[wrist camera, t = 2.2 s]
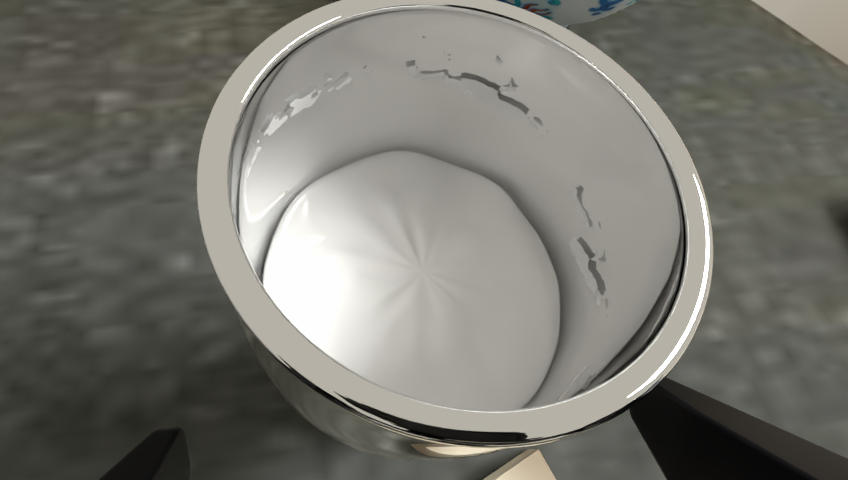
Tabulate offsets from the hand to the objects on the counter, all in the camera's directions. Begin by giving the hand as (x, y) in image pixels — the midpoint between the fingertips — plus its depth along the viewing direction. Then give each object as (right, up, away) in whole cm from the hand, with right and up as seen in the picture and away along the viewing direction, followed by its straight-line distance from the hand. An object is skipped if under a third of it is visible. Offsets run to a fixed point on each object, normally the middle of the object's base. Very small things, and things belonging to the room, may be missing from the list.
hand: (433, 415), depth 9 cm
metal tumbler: (-2, -2, +10) cm, 11 cm away
